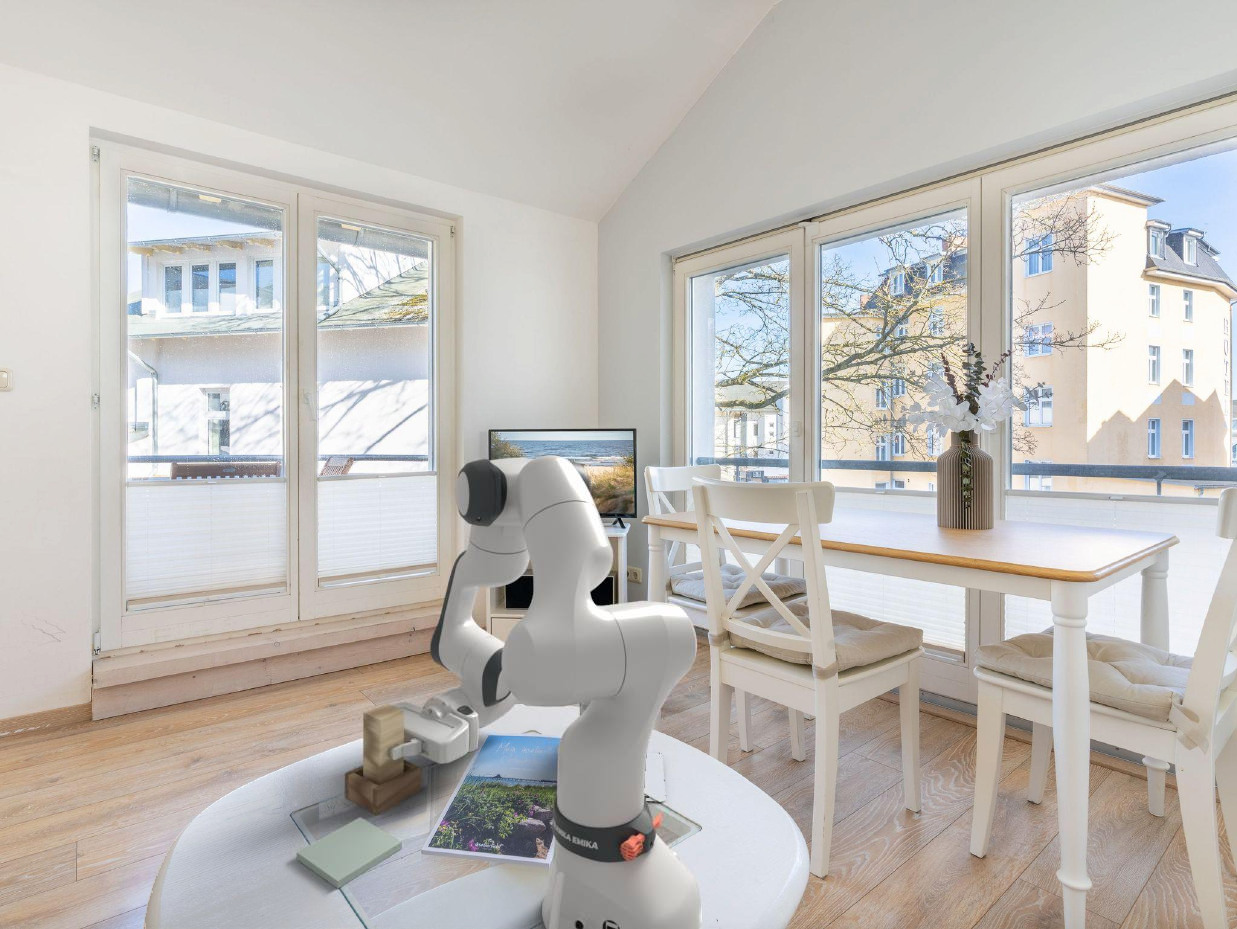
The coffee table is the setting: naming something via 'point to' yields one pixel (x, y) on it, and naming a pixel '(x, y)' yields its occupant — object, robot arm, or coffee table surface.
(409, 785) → the pocket
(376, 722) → the oak block
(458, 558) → the robot arm
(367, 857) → the pad
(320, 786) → the coffee table surface
